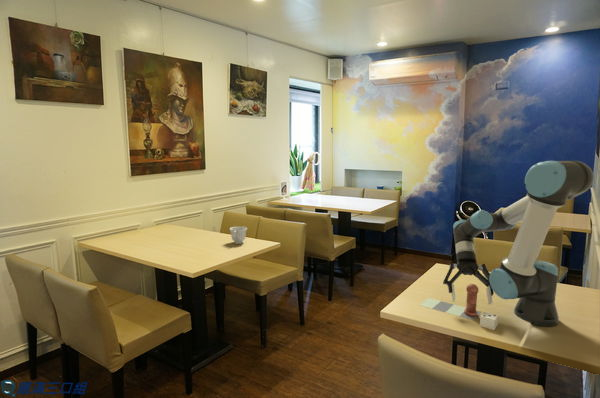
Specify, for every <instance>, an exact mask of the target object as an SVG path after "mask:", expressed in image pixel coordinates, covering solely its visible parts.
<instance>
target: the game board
mask: <svg viewBox="0 0 600 398" xmlns="http://www.w3.org/2000/svg"><path fill="white" fill-rule="evenodd" d="M419 306H421V307H425V308H428V309H432V310H436V311H438V312H442V313H446V314H450V315H453V316H458V317H460V318H464V319H467V320H472V321H475V320H476V319H477V318H478V317H479V316H480V315H481V314H482V311H480V310H477V309H476V311H477V316H475V317H472V316H467V315H465V314H464V310H465V309H466V306H461V305H458V304H453V303H450V302H445V301H443V300H439V299H435V298H432V297H431V298H430V297H427V298H426V299H425V300H424V301H422V303H420V304H419Z"/></svg>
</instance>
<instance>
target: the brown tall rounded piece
mask: <svg viewBox="0 0 600 398" xmlns="http://www.w3.org/2000/svg"><path fill="white" fill-rule="evenodd" d="M479 289H480V288H479V287H478V285H476V284H474V283H469V284H467V286H466V292H467V293H466V306H465V307H466V309H465V310H464V314H465V315H467V316H472V317H475V316H477V311H478V310H477V299H478V293H479ZM476 310H477V311H476Z"/></svg>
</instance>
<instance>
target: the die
mask: <svg viewBox="0 0 600 398" xmlns="http://www.w3.org/2000/svg"><path fill="white" fill-rule="evenodd" d="M479 316H480V317H479V327H482V328H485V329H489V330H492V331H495V330H496V328H497V327H498V325H499V315H498V314H494V313H491V312H487V311H483V312H482V313H481V314H480V315H479Z"/></svg>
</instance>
